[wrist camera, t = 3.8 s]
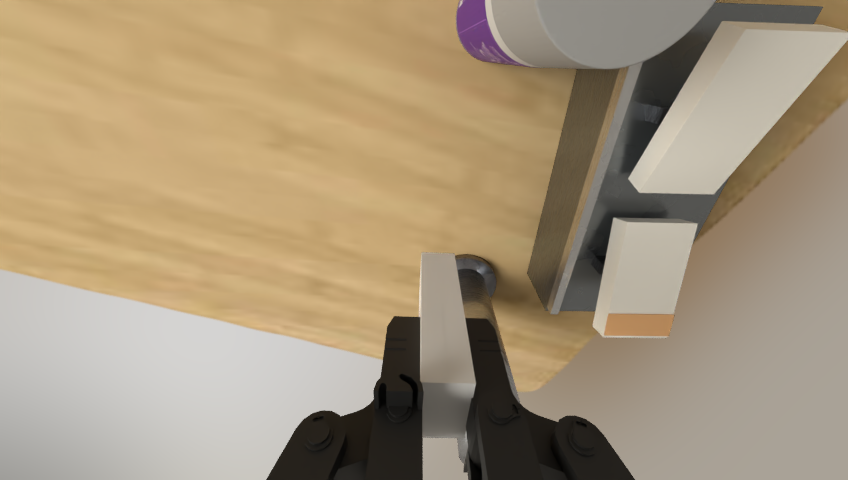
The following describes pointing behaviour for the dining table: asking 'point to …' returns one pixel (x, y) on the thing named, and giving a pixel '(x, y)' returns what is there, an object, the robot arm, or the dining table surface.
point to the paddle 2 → (732, 102)
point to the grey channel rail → (621, 159)
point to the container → (574, 30)
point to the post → (479, 309)
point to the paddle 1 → (642, 276)
